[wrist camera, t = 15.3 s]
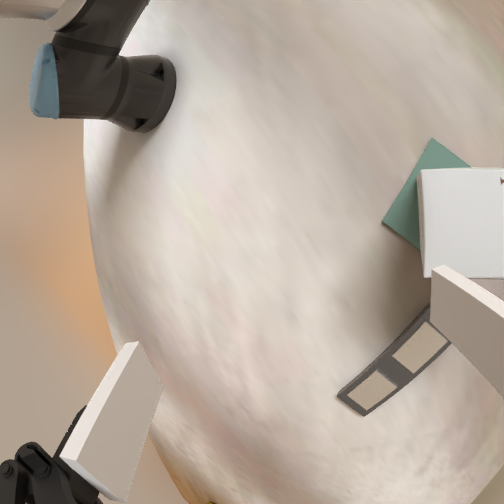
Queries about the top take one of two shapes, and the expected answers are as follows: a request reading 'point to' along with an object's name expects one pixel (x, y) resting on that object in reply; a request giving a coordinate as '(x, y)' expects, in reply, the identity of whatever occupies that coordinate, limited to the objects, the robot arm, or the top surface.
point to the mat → (406, 204)
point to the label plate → (396, 365)
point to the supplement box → (462, 221)
